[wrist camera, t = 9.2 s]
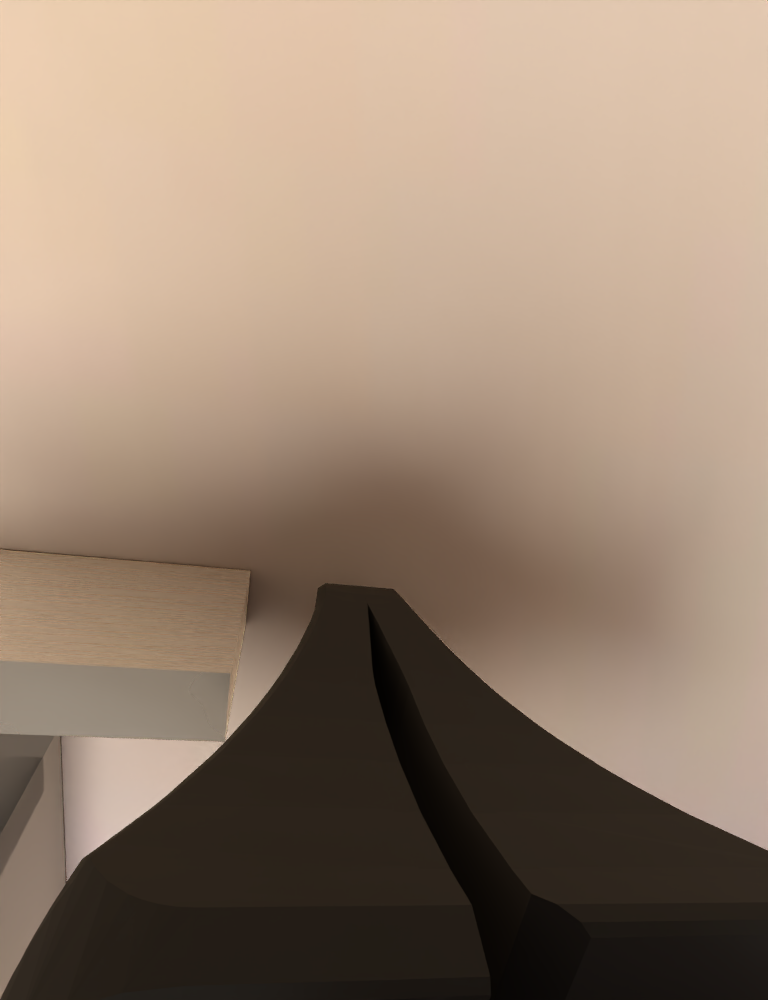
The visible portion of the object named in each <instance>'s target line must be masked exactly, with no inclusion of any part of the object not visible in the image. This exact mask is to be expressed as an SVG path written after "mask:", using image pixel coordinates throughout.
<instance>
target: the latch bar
mask: <svg viewBox="0 0 768 1000" xmlns="http://www.w3.org/2000/svg"><path fill="white" fill-rule="evenodd" d="M250 572H251V571H249V570H237V569H225V568H213V567H202V566H190V565H178V564H166V563H154V562H142V561H131V560H119V559H107V558H95V557H83V556H71V555H60V554H48V553H36V552H24V551H12V550H0V734H23V735H50V736H78V737H106V738H134V739H162V740H190V741H218V742H225V738H226V733H227V727H228V721H229V716H230V710H231V705H232V699H233V693H234V688H235V682H236V677H237V671H238V665H239V660H240V654H241V649H242V643H243V637H244V632H245V626H246V616H247V605H248V594H249V583H250Z"/></svg>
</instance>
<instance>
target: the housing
mask: <svg viewBox="0 0 768 1000" xmlns="http://www.w3.org/2000/svg"><path fill="white" fill-rule="evenodd" d="M65 884H66V875H65V849H64V822H63V795H62V769H61V742H60V736H50V735H23V734H0V999H1V996H2V994H3V992H4V990H5V988H6V986H7V984H8V982H9V980H10V978H11V976H12V974H13V973H14V971H15V969H16V967H17V966H18V964H19V962H20V960H21V958H22V956H23V954H24V952H25V951H26V949H27V947H28V945H29V943H30V941H31V940H32V938H33V936H34V934H35V933H36V931H37V929H38V928H39V926H40V924H41V923H42V921H43V919H44V918H45V916H46V914H47V913H48V911H49V909H50V908H51V906H52V904H53V903H54V901H55V900H56V898H57V897H58V895H59V894H60V892H61V891H62V889H63V887H64V886H65Z"/></svg>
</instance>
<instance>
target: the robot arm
mask: <svg viewBox="0 0 768 1000" xmlns="http://www.w3.org/2000/svg"><path fill="white" fill-rule="evenodd" d="M0 1000H768V851H767V850H765V849H763V848H761V847H759V846H756V845H754V844H752V843H750V842H748V841H746V840H743V839H741V838H739V837H737V836H735V835H732V834H730V833H728V832H726V831H724V830H722V829H719V828H717V827H715V826H713V825H711V824H708V823H706V822H704V821H702V820H700V819H698V818H695V817H693V816H691V815H689V814H687V813H685V812H683V811H681V810H679V809H677V808H675V807H673V806H671V805H670V804H668V803H666V802H664V801H662V800H660V799H658V798H657V797H655V796H653V795H651V794H649V793H647V792H645V791H643V790H642V789H640V788H638V787H636V786H634V785H632V784H630V783H629V782H627V781H625V780H623V779H622V778H620V777H618V776H617V775H615V774H613V773H611V772H610V771H608V770H606V769H604V768H603V767H601V766H599V765H598V764H596V763H595V762H593V761H592V760H590V759H588V758H587V757H585V756H584V755H582V754H581V753H579V752H577V751H576V750H574V749H573V748H571V747H570V746H568V745H567V744H565V743H563V742H562V741H560V740H559V739H557V738H556V737H554V736H553V735H552V734H550V733H549V732H547V731H546V730H544V729H543V728H541V727H540V726H539V725H537V724H536V723H535V722H533V721H532V720H531V719H529V718H528V717H527V716H526V715H524V714H523V713H522V712H520V711H519V710H518V709H516V708H515V707H514V706H512V705H511V704H510V703H508V702H507V701H506V700H505V699H503V698H502V697H501V696H500V695H499V694H497V693H496V692H495V691H494V690H493V689H491V688H490V687H489V686H488V685H487V684H486V683H485V682H484V681H483V680H481V679H480V678H479V677H478V676H477V675H476V674H475V673H474V672H473V671H471V670H470V669H469V668H468V667H467V666H466V665H465V664H464V663H463V662H462V661H461V660H460V659H459V658H458V657H457V656H456V655H455V654H454V653H453V652H452V651H451V650H450V649H449V648H448V647H447V646H446V645H445V644H444V643H443V642H442V641H441V640H440V639H439V638H438V637H437V636H436V635H435V634H434V633H433V632H432V631H431V630H430V629H429V628H428V626H427V625H426V624H425V623H424V622H423V621H422V620H421V619H420V618H419V617H418V615H417V614H416V613H415V612H414V611H413V610H412V609H411V608H410V607H409V605H408V604H407V603H406V602H405V601H404V600H403V599H402V598H401V597H400V596H399V594H398V593H397V592H396V591H395V590H394V589H385V588H373V587H362V586H350V585H338V584H326V583H325V584H324V585H322V586H321V587H320V588H318V592H317V599H316V606H315V611H314V614H313V616H312V619H311V621H310V623H309V625H308V627H307V629H306V632H305V634H304V636H303V638H302V640H301V642H300V644H299V645H298V647H297V649H296V651H295V652H294V654H293V655H292V657H291V659H290V660H289V662H288V663H287V665H286V667H285V668H284V670H283V672H282V673H281V675H280V676H279V678H278V679H277V680H276V682H275V683H274V685H273V686H272V687H271V689H270V690H269V691H268V693H267V694H266V695H265V697H264V698H263V699H262V700H261V702H260V703H259V704H258V705H257V707H256V708H255V709H254V710H253V712H252V713H251V714H250V715H249V716H248V717H247V718H246V720H245V721H244V722H243V723H242V724H241V725H240V726H239V727H238V728H237V730H236V731H235V732H234V733H233V734H232V735H231V736H230V737H229V738H228V739H227V740H226V742H225V743H224V744H223V745H222V746H221V747H220V748H219V749H218V750H217V751H216V752H215V753H214V754H213V755H212V756H211V757H209V758H208V759H207V760H206V761H205V762H204V763H203V764H202V765H201V766H199V767H198V768H197V769H196V770H195V771H194V772H193V773H192V774H190V775H189V776H188V777H187V778H186V779H185V780H184V781H183V782H181V783H180V784H179V785H178V786H177V787H176V788H175V789H174V790H173V791H171V792H170V793H169V794H168V795H167V796H166V797H164V798H163V799H162V800H161V801H160V802H158V803H157V804H156V805H155V806H153V807H152V808H151V809H149V810H148V811H147V812H145V813H144V814H143V815H141V816H140V817H139V818H137V819H136V820H135V821H133V822H132V823H131V824H129V825H128V826H127V827H125V828H124V829H123V830H121V831H120V832H119V833H117V834H116V835H114V836H113V837H112V838H110V839H109V840H108V841H106V842H105V843H104V844H102V845H101V846H100V847H98V848H97V849H96V850H94V851H93V852H91V853H90V854H89V855H87V856H86V857H84V858H83V859H82V860H81V862H80V863H79V865H78V866H77V868H76V869H75V871H74V872H73V874H72V875H71V877H70V878H69V880H68V881H67V883H66V884H65V886H64V887H63V889H62V891H61V892H60V894H59V895H58V897H57V898H56V900H55V901H54V903H53V904H52V906H51V908H50V909H49V911H48V913H47V914H46V916H45V918H44V919H43V921H42V923H41V924H40V926H39V928H38V929H37V931H36V933H35V934H34V936H33V938H32V940H31V941H30V943H29V945H28V947H27V949H26V951H25V952H24V954H23V956H22V958H21V960H20V962H19V964H18V966H17V967H16V969H15V971H14V973H13V974H12V976H11V978H10V980H9V982H8V984H7V986H6V988H5V990H4V992H3V994H2V996H1V999H0Z"/></svg>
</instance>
